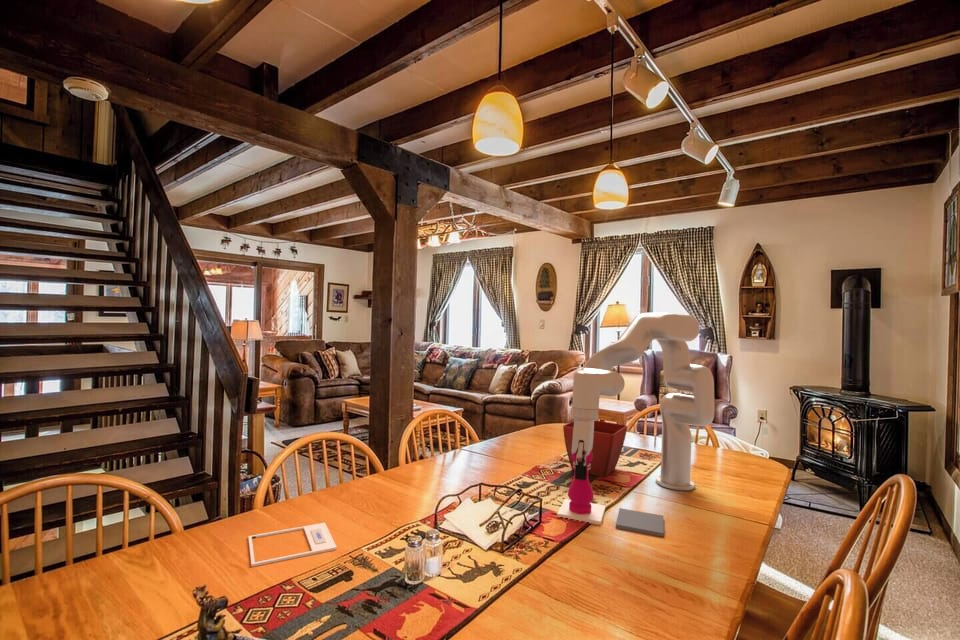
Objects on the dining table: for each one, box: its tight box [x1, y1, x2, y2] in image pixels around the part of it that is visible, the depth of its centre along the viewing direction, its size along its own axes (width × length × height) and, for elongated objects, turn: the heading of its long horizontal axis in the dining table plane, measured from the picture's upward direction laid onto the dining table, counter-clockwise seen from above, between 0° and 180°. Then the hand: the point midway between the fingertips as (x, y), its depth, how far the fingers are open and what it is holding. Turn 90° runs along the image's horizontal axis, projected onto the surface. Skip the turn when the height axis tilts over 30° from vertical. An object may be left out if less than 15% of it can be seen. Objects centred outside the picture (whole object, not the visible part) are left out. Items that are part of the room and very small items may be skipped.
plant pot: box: [562, 420, 628, 478], centre depth 175 cm, size 19×19×17 cm
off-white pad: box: [556, 498, 606, 526], centre depth 135 cm, size 12×12×1 cm
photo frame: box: [247, 522, 338, 567], centre depth 111 cm, size 15×1×18 cm
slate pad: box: [615, 507, 665, 538], centre depth 129 cm, size 12×12×1 cm
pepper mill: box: [567, 451, 594, 514], centre depth 135 cm, size 7×7×20 cm
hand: (582, 475), depth 135 cm, fingers open, 5 cm apart
